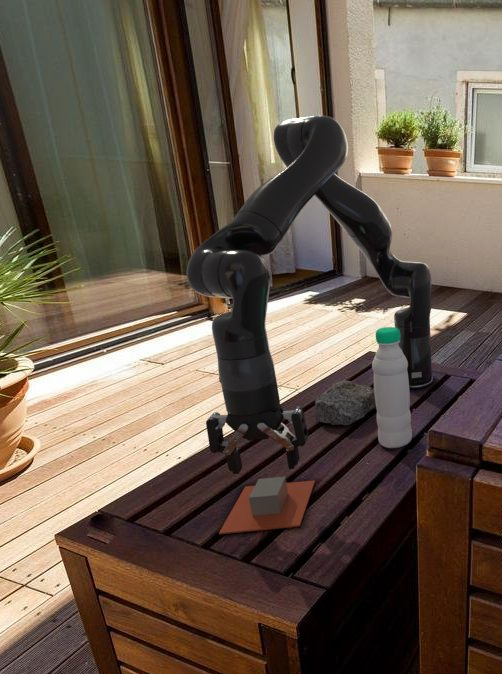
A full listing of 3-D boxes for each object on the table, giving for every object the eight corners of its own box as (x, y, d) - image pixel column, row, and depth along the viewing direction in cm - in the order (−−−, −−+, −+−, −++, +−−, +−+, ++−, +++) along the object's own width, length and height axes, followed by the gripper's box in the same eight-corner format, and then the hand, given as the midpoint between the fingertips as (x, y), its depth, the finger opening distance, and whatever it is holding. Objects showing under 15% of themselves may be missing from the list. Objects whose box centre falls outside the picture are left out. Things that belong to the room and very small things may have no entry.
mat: (245, 487, 85) (245, 486, 85) (315, 481, 87) (315, 480, 86) (219, 534, 73) (218, 533, 73) (299, 526, 75) (299, 525, 75)
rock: (352, 432, 104) (385, 405, 118) (351, 406, 102) (385, 381, 116) (303, 423, 107) (341, 397, 121) (300, 397, 105) (339, 374, 119)
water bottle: (401, 452, 96) (393, 336, 88) (371, 446, 98) (361, 332, 90) (418, 435, 103) (412, 326, 94) (389, 430, 105) (381, 322, 97)
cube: (261, 496, 82) (258, 478, 81) (288, 493, 83) (285, 476, 82) (252, 516, 77) (248, 497, 76) (280, 513, 78) (277, 495, 77)
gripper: (303, 367, 77) (315, 452, 82) (209, 372, 75) (227, 460, 80) (291, 386, 70) (305, 478, 75) (187, 392, 68) (209, 487, 73)
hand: (265, 468), depth 78 cm, fingers open, 8 cm apart
